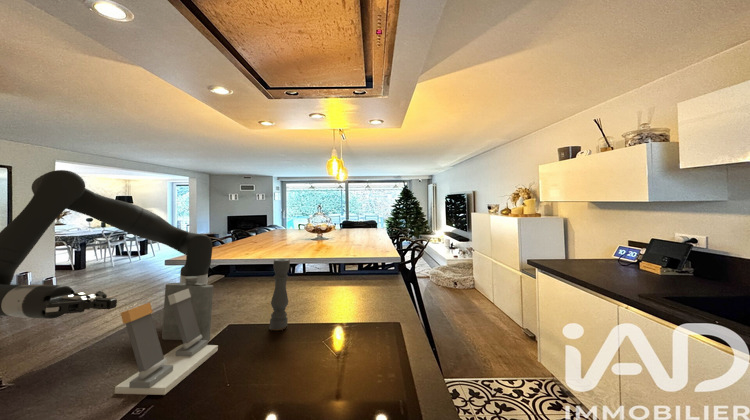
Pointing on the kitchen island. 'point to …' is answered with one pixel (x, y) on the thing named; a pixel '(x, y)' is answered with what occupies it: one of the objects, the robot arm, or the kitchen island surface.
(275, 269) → the candle holder
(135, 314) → the orange lever
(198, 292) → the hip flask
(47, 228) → the robot arm
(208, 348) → the switch panel
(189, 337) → the grey lever
